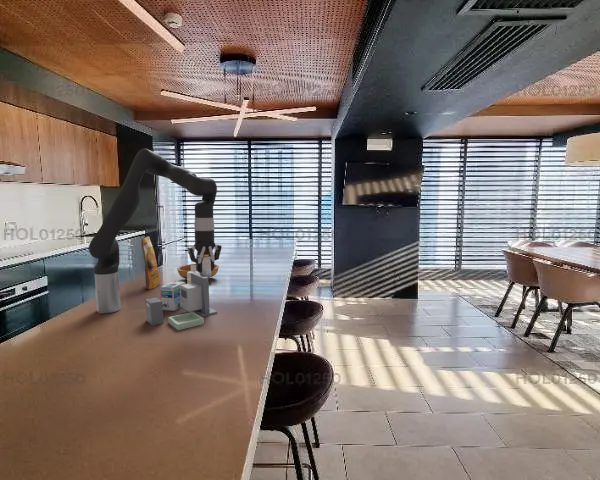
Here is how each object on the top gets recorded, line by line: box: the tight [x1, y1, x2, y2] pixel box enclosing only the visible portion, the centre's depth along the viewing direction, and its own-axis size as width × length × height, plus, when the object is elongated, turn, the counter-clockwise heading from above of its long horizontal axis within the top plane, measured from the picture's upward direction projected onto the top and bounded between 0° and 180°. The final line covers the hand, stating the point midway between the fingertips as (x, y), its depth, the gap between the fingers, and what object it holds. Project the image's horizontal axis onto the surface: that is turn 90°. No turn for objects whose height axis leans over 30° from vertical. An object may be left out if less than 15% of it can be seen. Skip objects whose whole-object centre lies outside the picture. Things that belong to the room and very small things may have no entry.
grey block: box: [144, 297, 164, 326], centre depth 142 cm, size 5×7×9 cm, turn 39°
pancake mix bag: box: [141, 235, 161, 290], centre depth 198 cm, size 7×19×28 cm, turn 5°
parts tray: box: [167, 311, 205, 331], centre depth 141 cm, size 10×10×2 cm
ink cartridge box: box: [186, 265, 200, 284], centre depth 182 cm, size 9×5×15 cm, turn 84°
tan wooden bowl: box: [176, 263, 220, 280], centre depth 212 cm, size 30×24×8 cm
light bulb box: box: [160, 281, 186, 312], centre depth 161 cm, size 11×7×11 cm, turn 168°
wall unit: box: [180, 272, 218, 318], centre depth 154 cm, size 12×16×16 cm
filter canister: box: [200, 254, 211, 278], centre depth 141 cm, size 4×4×9 cm
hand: (205, 271), depth 141 cm, fingers closed on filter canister, 4 cm apart
